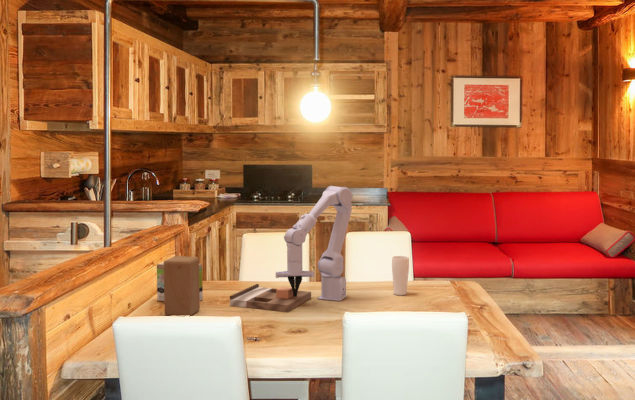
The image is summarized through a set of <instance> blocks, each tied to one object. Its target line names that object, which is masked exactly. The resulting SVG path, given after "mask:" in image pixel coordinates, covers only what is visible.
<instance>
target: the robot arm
mask: <svg viewBox="0 0 635 400" xmlns="http://www.w3.org/2000/svg"><path fill="white" fill-rule="evenodd" d="M352 199H353V193H352V191H351V190H350V188H348V187H347V186H334V185H329V186H328V187H326V189H325V190H324V191H323V192H322V195H321V197H320V198H319V200H318V201H317V203H315V205H314V206H313V207H312V209H311V210H310V211H309V213H304V214H301V215H300V218H299V220H298V221H297V222H296V223H295V224H294V225H292V228H291V227H290V228H288V230H286V231H285V233H284V235H283V239H284V241H285V243H286V247H287V248H286V249H287V250H286V261H287V263H286V266H287V267H286V268H287V269H286V270H284V271H282V270H281V271H275V278H276V279H279V278H287V280H288V283H289V285H290V288H292V291H293V297H297V292H298V291H299V288H300V285H301V284H302V281H303V278H315V271H314V270H303V244H304V243H305V242H306V240H307V239H306V238H307V236H308V233H310V231H312V229H313V228H314V227H315V225H316V224H317V222H316V220H317V219H318V218H319V217H320V216H321V215H322V214H323V212H325V211H326V210H327V209H328V207H330V206H333V207H334V209H335V210H336V214H335V218H334V221H333V222H334V223H333V226H332V230H331V234H330V238H329V241H328V246H327V249H326V250H325V251H324V252H323V253H322V254H321V257H320V259H319V260H318V261H317V269H318V271H319V272H320V275H321V279H320V280H321V282H320V283H321V289H320V290H321V295H320V296H318V297H317V299H318V300H323V301H324V300H326V301H337V302H341V301H342V300H344V299H345V298H347V297H348V295H347V279H346V277H345V276H341V275H342V273H343V272H344V260H345V259H344V256H343V255H342V250H343V246H344V242H345V237H346V234H347V230H348V225H349V223H350V222H349V221H350V219H351V215H352V209H353V208H352V207H353V206H352Z"/></svg>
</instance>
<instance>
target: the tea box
mask: <svg viewBox="0 0 635 400" xmlns="http://www.w3.org/2000/svg"><path fill="white" fill-rule="evenodd" d="M163 263H164V262H161V263H157V264H156V284H157V285H156V287H157V288H156V290H157V291H156V292H157V301H160V302H161V301H162V302H164V266H163ZM203 292H204V291H203V264H202V263H199V296H200V302H201V301H203V297H204V296H203V295H204V293H203Z"/></svg>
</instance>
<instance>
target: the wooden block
mask: <svg viewBox="0 0 635 400" xmlns="http://www.w3.org/2000/svg"><path fill="white" fill-rule="evenodd" d="M162 263H163V266H164V301H163V302H164V305H163V306H164V315H165V316H167V315H191V316H192V315H194V314H196V313H197V312H199V310H200V309H201V307H200V306H201V305H200V302H201V301H200V296H199V264H200V259H199V257H197V256H183V255H182V256H181V255H179V256H178V255H175V256H172V257H170V258H168V259H165V260H163V262H162Z"/></svg>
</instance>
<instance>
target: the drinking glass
mask: <svg viewBox="0 0 635 400" xmlns="http://www.w3.org/2000/svg"><path fill="white" fill-rule="evenodd" d="M391 272H392V273H391V274H392V287H393V294H394V295H395V296H406V295H407V293H408V280H409V272H410V257H408V256H404V255H396V256H392V257H391Z"/></svg>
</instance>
